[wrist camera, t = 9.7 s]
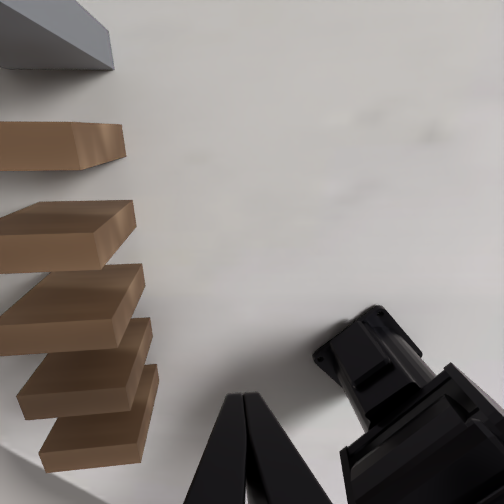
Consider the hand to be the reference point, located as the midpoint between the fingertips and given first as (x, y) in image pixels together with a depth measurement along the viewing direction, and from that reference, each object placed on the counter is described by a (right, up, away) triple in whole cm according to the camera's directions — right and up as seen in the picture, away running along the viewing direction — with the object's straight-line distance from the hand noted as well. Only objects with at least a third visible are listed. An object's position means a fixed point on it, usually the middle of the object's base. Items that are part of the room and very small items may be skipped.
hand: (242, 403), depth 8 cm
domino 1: (-9, +10, +8) cm, 16 cm away
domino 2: (-9, +6, +9) cm, 14 cm away
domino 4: (-9, -1, +12) cm, 15 cm away
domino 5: (-9, -5, +14) cm, 17 cm away
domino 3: (-9, +2, +11) cm, 14 cm away
